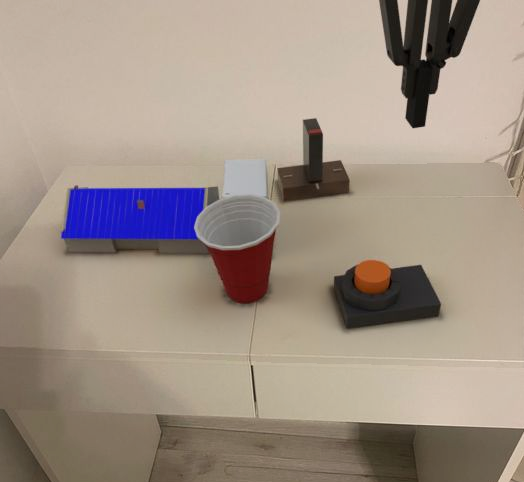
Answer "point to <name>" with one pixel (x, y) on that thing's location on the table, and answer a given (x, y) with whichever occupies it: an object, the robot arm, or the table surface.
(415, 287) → the switch button base
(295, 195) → the dial panel
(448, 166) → the table surface
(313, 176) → the dark grey block
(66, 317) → the table surface
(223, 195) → the cosmetics box
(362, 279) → the switch button
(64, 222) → the roof
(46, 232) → the table surface
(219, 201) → the plastic cup
